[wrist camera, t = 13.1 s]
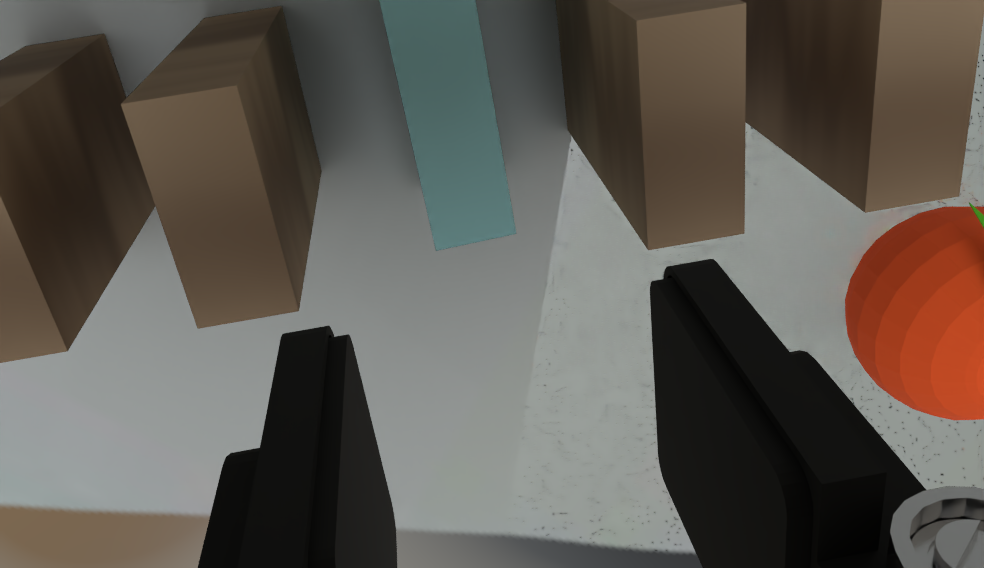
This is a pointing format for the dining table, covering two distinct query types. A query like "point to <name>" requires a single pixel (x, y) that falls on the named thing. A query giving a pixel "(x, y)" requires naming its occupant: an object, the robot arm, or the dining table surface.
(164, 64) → the domino
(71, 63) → the domino
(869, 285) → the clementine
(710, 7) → the domino
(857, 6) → the domino
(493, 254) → the dining table surface
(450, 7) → the domino
